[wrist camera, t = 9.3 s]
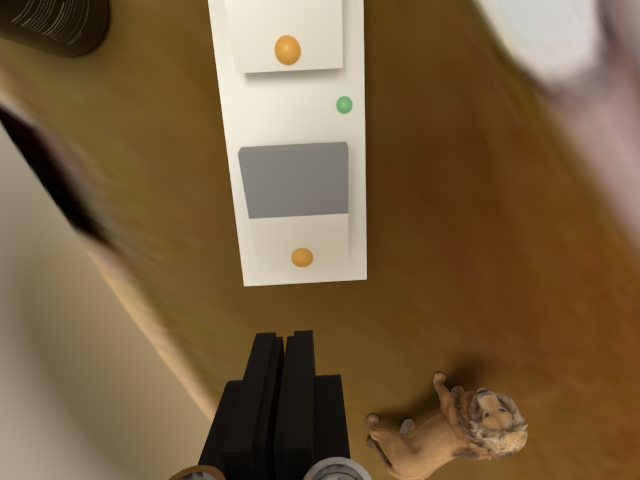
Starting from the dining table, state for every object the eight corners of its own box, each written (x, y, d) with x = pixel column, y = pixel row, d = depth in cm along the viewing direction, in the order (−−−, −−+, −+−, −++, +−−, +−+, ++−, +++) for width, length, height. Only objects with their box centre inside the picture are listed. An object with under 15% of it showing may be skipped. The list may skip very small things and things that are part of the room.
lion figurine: (460, 338, 32) (514, 411, 23) (493, 370, 33) (557, 451, 25) (350, 427, 35) (362, 522, 26) (384, 454, 36) (407, 553, 27)
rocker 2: (345, 138, 20) (348, 148, 18) (345, 252, 24) (348, 268, 22) (242, 144, 20) (237, 154, 18) (261, 256, 24) (257, 273, 22)
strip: (348, -199, 21) (362, -324, 15) (357, 256, 29) (368, 284, 24) (203, -192, 21) (163, -315, 15) (255, 262, 29) (242, 291, 24)
